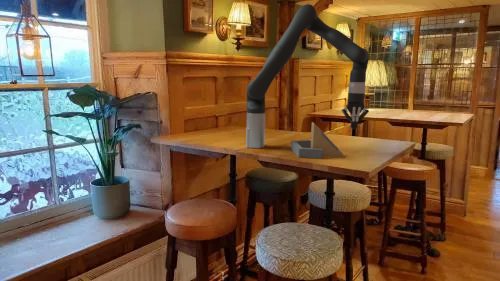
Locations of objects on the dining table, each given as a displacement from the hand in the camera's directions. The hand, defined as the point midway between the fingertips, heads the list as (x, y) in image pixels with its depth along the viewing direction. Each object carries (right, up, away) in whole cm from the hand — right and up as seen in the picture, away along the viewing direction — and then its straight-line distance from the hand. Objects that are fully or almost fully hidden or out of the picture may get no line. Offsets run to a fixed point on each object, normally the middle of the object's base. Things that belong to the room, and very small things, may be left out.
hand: (353, 129), depth 169 cm
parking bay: (-23, -11, +1) cm, 25 cm away
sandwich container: (-13, -12, -4) cm, 18 cm away
